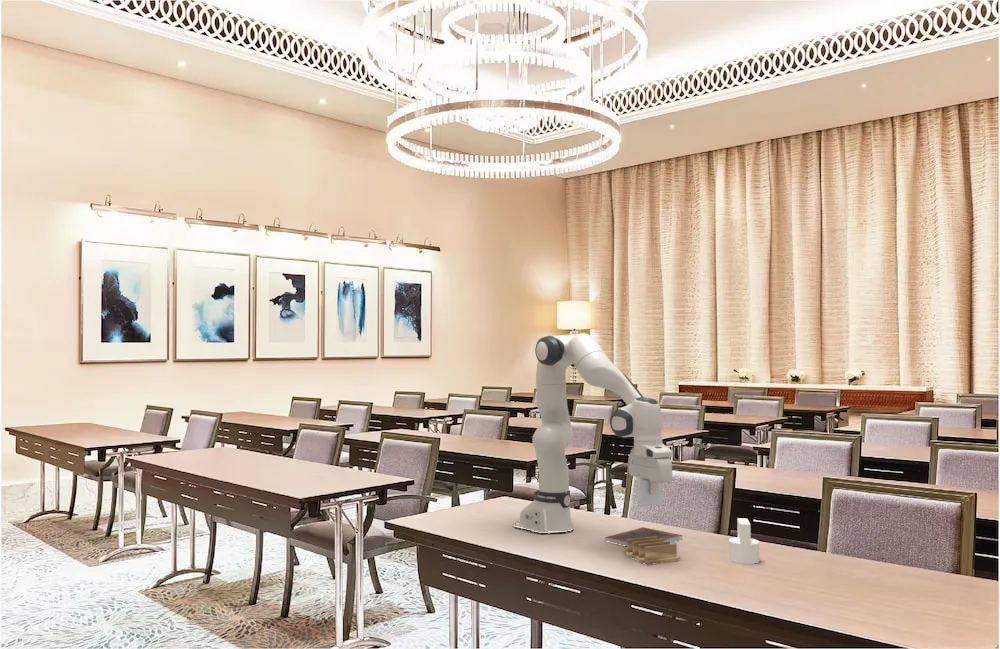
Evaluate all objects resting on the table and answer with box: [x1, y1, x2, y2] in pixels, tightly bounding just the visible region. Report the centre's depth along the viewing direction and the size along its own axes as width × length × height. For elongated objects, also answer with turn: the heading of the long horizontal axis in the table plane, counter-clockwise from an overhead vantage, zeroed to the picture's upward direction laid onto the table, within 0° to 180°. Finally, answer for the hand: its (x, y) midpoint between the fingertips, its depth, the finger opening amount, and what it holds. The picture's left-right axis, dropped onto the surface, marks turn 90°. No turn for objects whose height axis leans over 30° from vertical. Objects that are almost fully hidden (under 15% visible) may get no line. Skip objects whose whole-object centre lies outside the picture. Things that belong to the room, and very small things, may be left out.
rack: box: [623, 536, 681, 565], centre depth 238 cm, size 13×12×5 cm
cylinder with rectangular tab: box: [728, 517, 761, 565], centre depth 235 cm, size 9×9×12 cm
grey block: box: [636, 479, 664, 508], centre depth 238 cm, size 2×8×8 cm, turn 111°
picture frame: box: [604, 527, 683, 546], centre depth 259 cm, size 16×2×22 cm
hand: (649, 493), depth 238 cm, fingers closed on grey block, 1 cm apart
